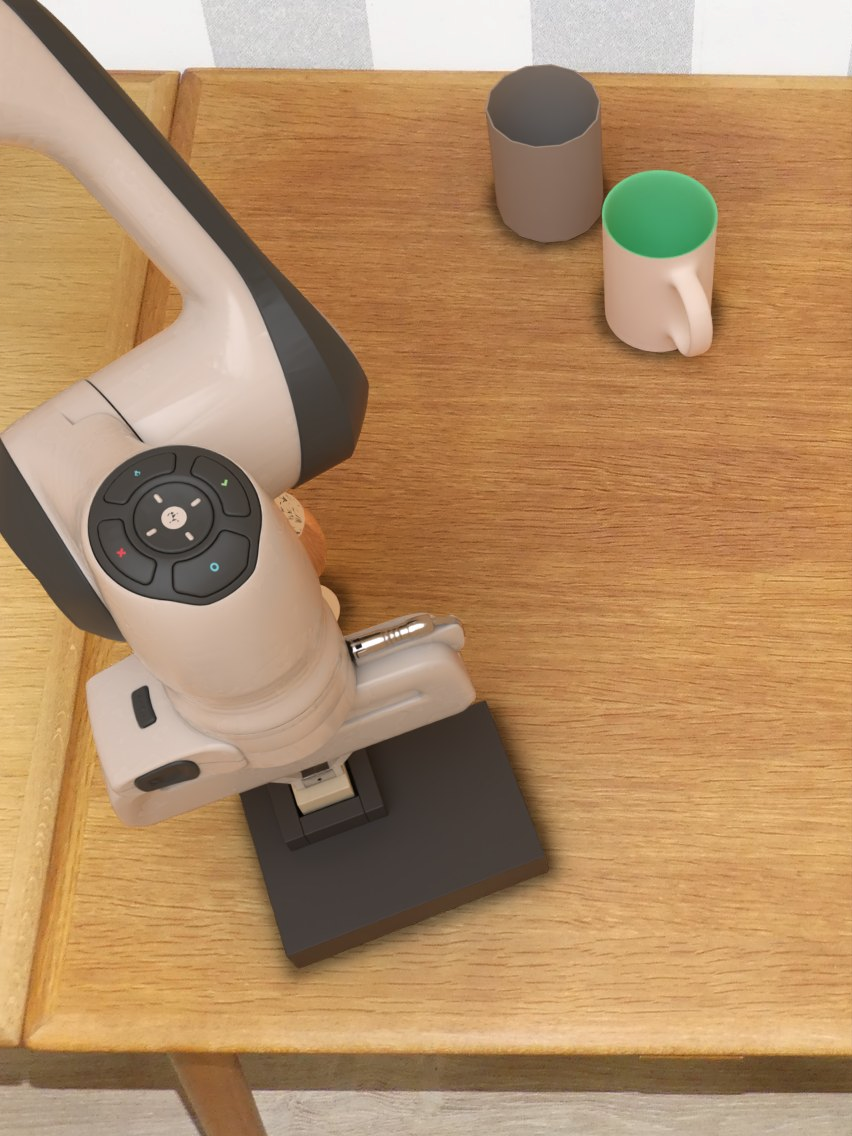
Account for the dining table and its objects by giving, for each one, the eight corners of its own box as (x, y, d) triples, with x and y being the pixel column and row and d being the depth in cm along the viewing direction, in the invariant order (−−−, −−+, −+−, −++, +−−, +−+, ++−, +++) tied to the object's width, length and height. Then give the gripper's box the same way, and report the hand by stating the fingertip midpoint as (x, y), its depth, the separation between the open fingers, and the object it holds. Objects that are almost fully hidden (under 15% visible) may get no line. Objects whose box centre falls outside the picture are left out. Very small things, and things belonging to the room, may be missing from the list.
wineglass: (365, 621, 96) (332, 532, 86) (289, 666, 95) (245, 581, 84) (323, 560, 99) (285, 466, 88) (248, 603, 97) (200, 512, 86)
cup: (564, 258, 111) (558, 164, 102) (477, 214, 113) (463, 118, 104) (622, 188, 114) (621, 92, 105) (537, 147, 116) (529, 48, 107)
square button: (355, 796, 86) (350, 786, 85) (303, 815, 86) (297, 805, 84) (340, 750, 88) (334, 739, 86) (289, 768, 87) (282, 758, 85)
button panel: (548, 871, 89) (544, 846, 84) (298, 969, 86) (279, 949, 81) (484, 704, 94) (477, 673, 89) (245, 792, 91) (225, 764, 86)
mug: (753, 367, 107) (765, 275, 97) (656, 406, 105) (658, 316, 96) (681, 253, 111) (685, 155, 102) (587, 289, 110) (582, 193, 100)
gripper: (439, 558, 76) (467, 666, 88) (52, 691, 72) (138, 785, 85) (478, 658, 73) (501, 756, 86) (79, 802, 70) (163, 882, 82)
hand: (318, 771), depth 85 cm, fingers closed, pressing on square button
